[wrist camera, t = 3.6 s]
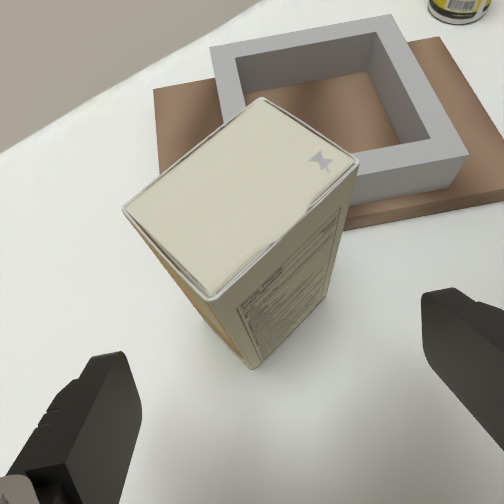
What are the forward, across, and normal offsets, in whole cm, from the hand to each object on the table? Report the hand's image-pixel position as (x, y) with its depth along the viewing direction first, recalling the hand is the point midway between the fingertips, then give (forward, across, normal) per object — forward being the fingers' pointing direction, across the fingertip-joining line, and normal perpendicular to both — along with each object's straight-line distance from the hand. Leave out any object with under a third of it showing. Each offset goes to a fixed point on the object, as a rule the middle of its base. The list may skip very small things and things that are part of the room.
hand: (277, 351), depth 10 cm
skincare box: (+11, 0, +4) cm, 12 cm away
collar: (+18, -6, -5) cm, 19 cm away
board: (+19, -6, -4) cm, 20 cm away
